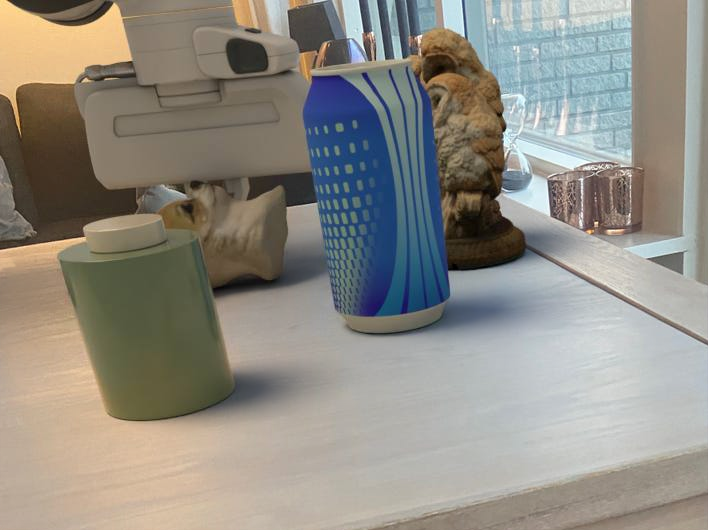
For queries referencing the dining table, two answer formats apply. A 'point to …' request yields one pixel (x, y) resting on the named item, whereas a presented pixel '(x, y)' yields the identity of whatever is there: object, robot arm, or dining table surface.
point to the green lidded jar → (147, 317)
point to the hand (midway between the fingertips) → (227, 234)
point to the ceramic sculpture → (233, 230)
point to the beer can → (378, 194)
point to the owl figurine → (467, 151)
